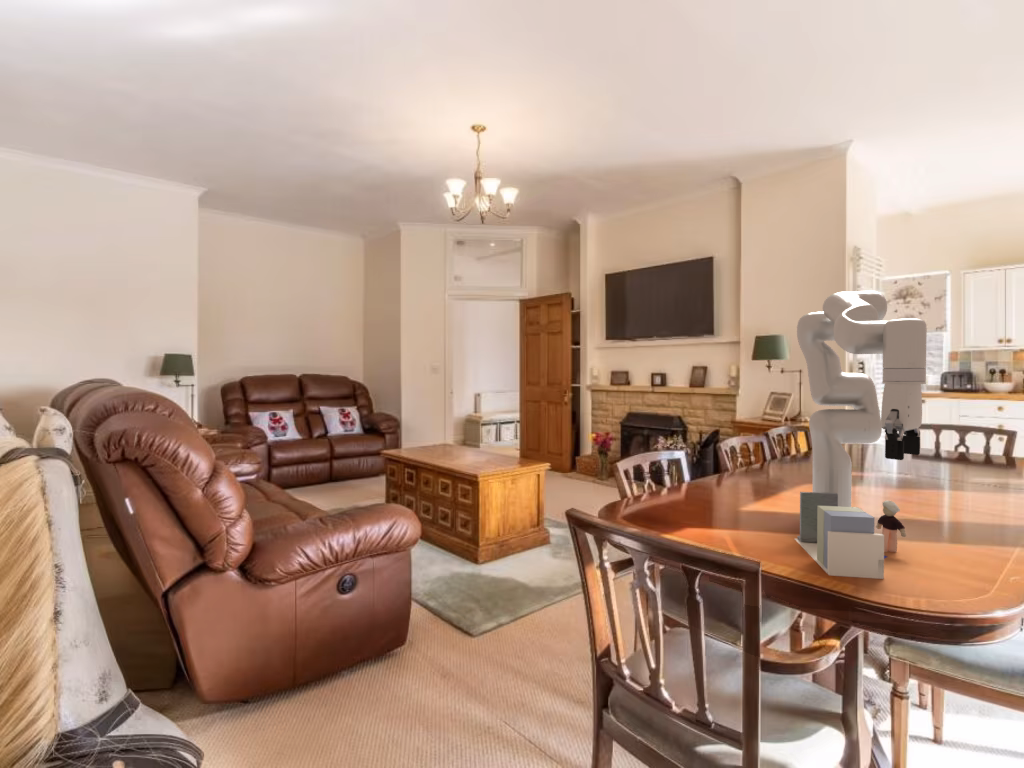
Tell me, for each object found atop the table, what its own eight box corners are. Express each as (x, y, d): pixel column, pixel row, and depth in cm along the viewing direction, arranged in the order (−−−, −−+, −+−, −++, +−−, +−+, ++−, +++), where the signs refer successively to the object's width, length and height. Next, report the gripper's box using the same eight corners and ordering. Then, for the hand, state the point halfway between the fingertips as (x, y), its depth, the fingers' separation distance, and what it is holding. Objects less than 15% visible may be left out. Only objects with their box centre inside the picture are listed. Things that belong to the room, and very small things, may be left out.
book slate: (823, 566, 116) (824, 510, 116) (865, 568, 114) (866, 512, 114) (830, 573, 112) (831, 515, 112) (873, 575, 110) (874, 517, 110)
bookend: (797, 537, 134) (797, 489, 134) (832, 539, 133) (833, 491, 132) (801, 541, 131) (801, 492, 131) (837, 543, 130) (837, 494, 129)
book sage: (817, 559, 120) (817, 505, 120) (857, 561, 118) (857, 507, 118) (823, 565, 116) (823, 510, 116) (864, 568, 115) (865, 512, 114)
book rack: (794, 543, 134) (794, 503, 134) (838, 545, 132) (839, 505, 132) (829, 580, 111) (829, 532, 111) (883, 584, 109) (884, 535, 109)
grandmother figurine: (867, 550, 128) (868, 497, 128) (879, 548, 130) (879, 496, 129) (900, 561, 121) (901, 505, 121) (912, 559, 123) (913, 504, 122)
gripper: (897, 375, 124) (896, 450, 124) (867, 377, 113) (867, 458, 114) (938, 376, 118) (937, 454, 118) (910, 378, 107) (909, 463, 108)
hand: (902, 456), depth 116 cm, fingers open, 9 cm apart
